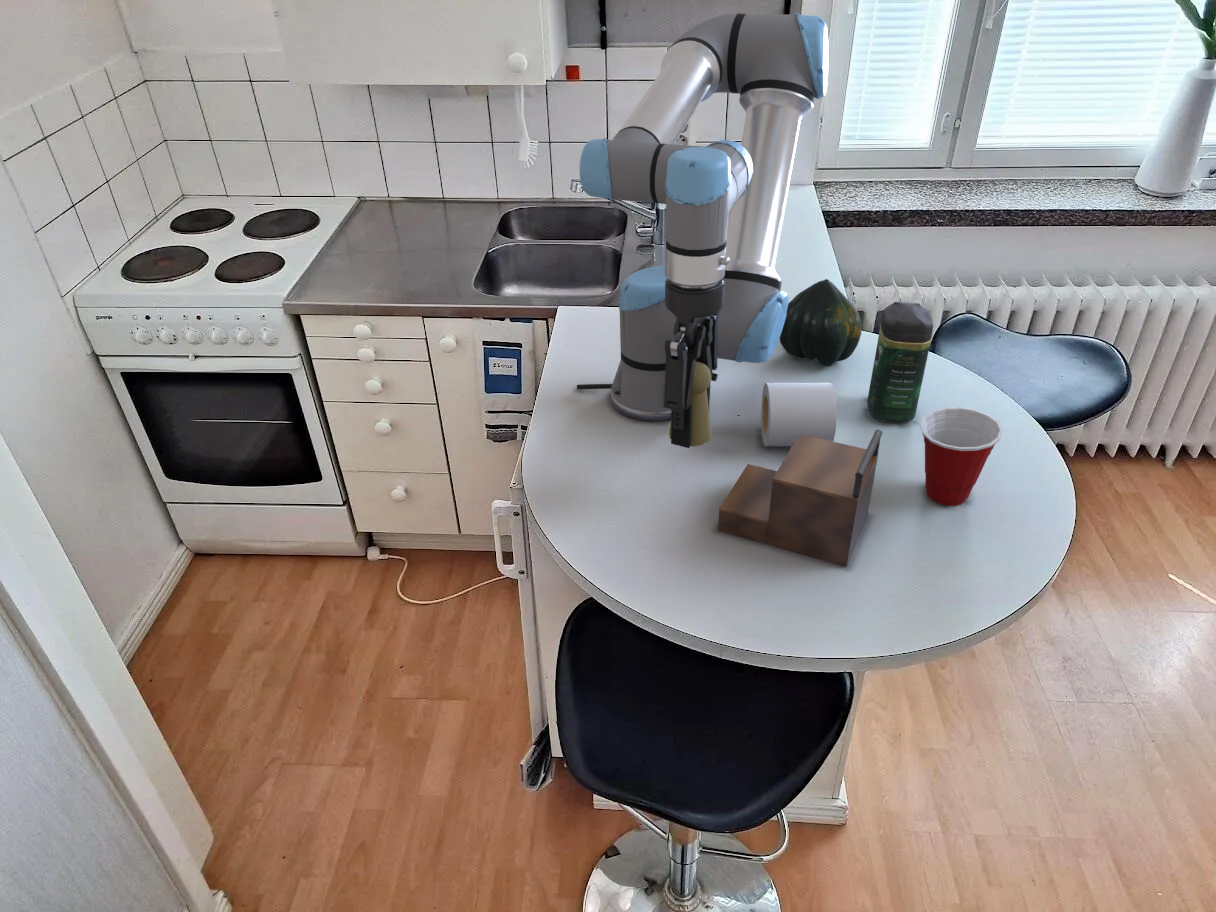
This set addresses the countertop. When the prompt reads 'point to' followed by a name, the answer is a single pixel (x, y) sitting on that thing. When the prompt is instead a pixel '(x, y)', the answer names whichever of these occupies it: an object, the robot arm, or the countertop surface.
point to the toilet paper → (797, 412)
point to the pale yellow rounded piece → (699, 406)
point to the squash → (821, 325)
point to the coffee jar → (899, 362)
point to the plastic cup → (956, 451)
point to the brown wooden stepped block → (806, 499)
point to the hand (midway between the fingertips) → (690, 432)
